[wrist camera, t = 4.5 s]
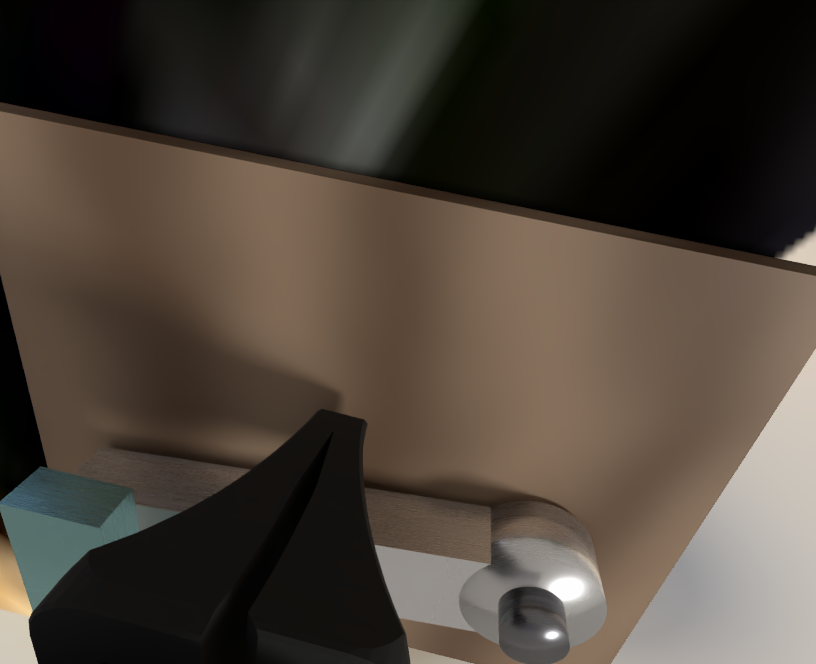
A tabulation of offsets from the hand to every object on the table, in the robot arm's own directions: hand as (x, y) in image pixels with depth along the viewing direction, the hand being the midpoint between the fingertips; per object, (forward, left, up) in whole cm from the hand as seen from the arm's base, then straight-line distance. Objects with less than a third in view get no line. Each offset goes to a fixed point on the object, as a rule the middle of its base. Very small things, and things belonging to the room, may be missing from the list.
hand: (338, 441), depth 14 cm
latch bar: (0, -4, -1) cm, 4 cm away
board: (0, -2, -2) cm, 3 cm away
